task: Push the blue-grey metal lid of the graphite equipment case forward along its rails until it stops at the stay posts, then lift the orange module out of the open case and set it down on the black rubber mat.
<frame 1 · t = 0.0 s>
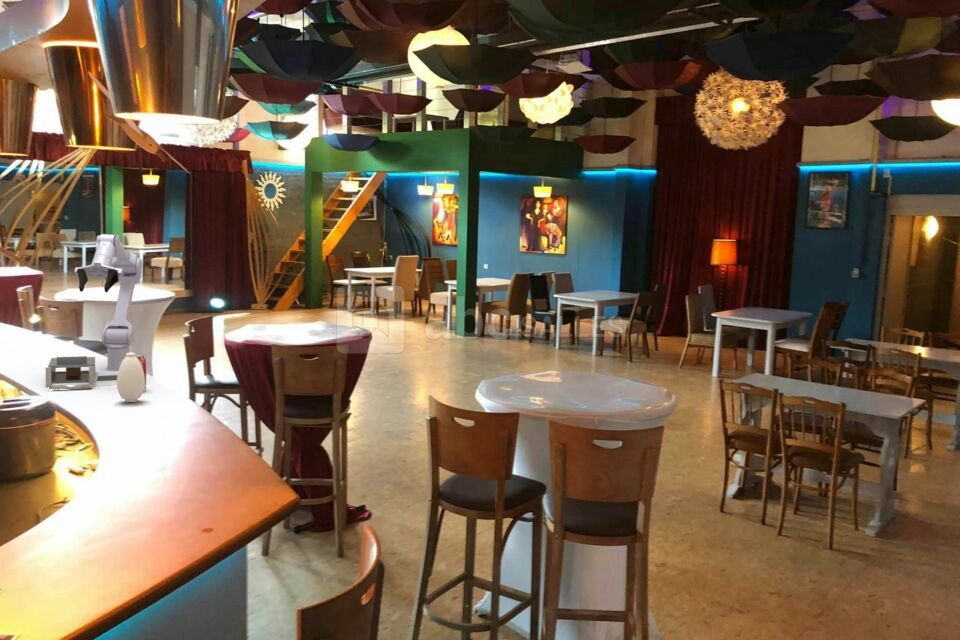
hand: (93, 289, 255), 32 cm above the worktop, tool tilted 50°, fingers open, 7 cm apart
case: (72, 380, 266), on the worktop
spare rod: (69, 389, 252), on the worktop
module: (73, 374, 273), point 1 cm above the worktop, touching case
soda can: (134, 391, 255), on the worktop
mat: (111, 379, 270), on the worktop
lid: (72, 359, 267), point 7 cm above the worktop, slide at 0.0 cm
egg-shaped bottle: (131, 402, 240), on the worktop
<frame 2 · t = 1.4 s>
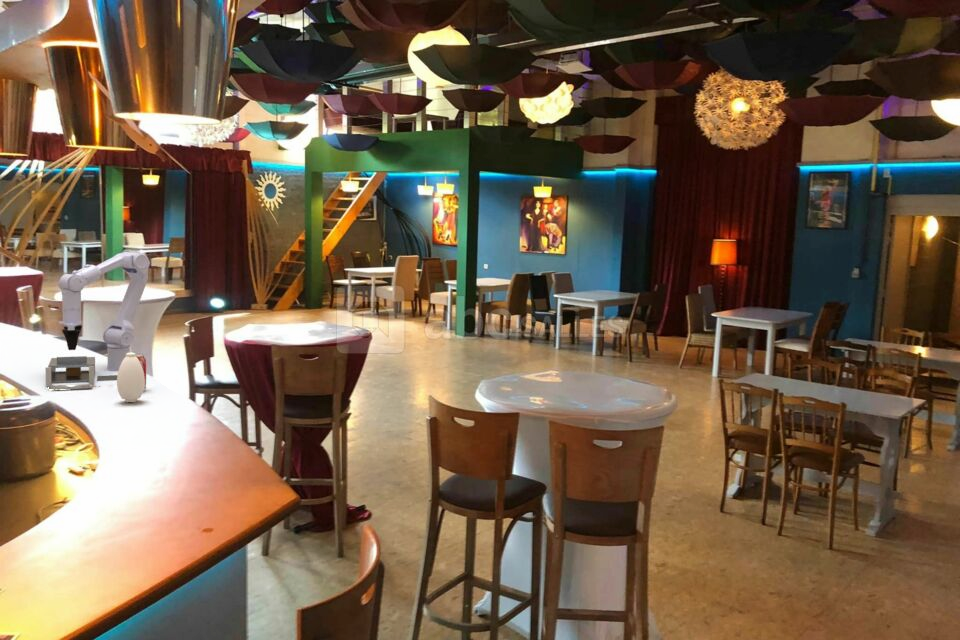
hand: (72, 348, 269), 10 cm above the worktop, tool pointing down, fingers open, 7 cm apart
nothing on the worktop moved.
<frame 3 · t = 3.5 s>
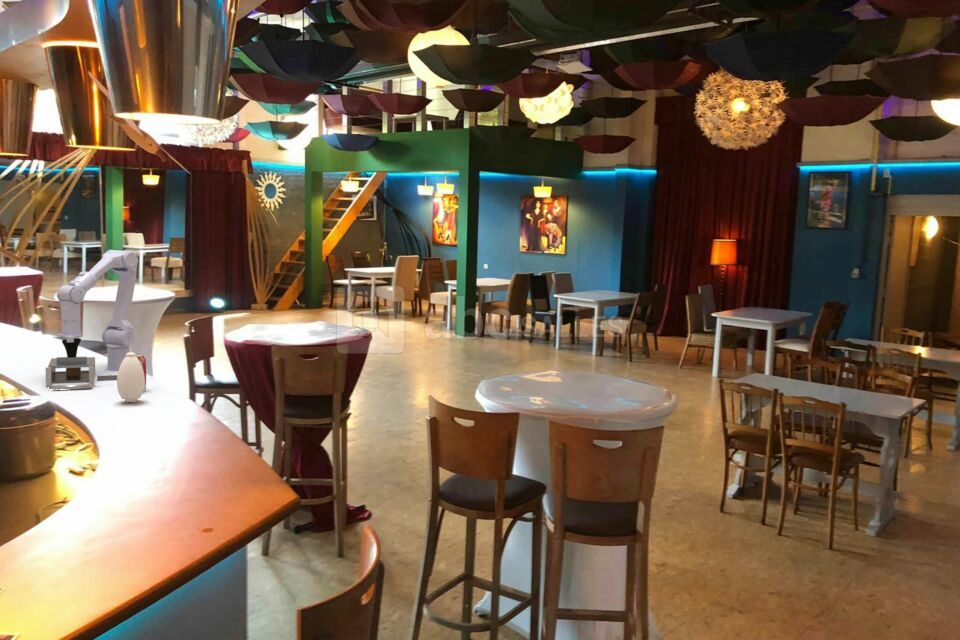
hand: (71, 360, 265), 7 cm above the worktop, tool pointing down, fingers closed
lid: (72, 359, 266), point 7 cm above the worktop, slide at 0.6 cm, touching gripper
everything else where it was.
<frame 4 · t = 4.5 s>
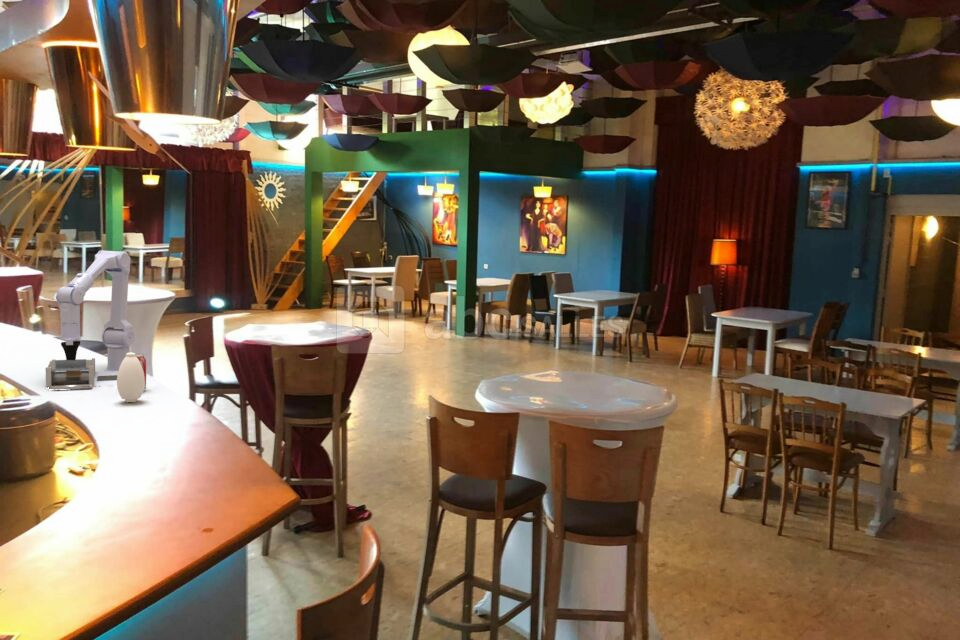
hand: (71, 363, 260), 7 cm above the worktop, tool pointing down, fingers closed
lid: (71, 362, 261), point 7 cm above the worktop, slide at 5.8 cm, touching gripper
everything else where it was.
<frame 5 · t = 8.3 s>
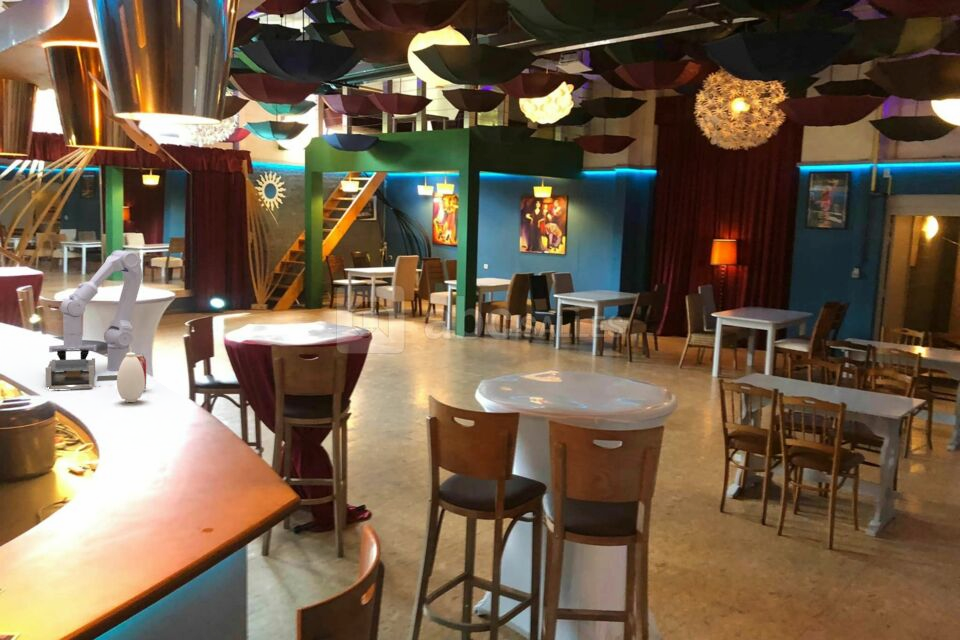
hand: (73, 371, 273), 2 cm above the worktop, tool pointing down, fingers closed on module, 4 cm apart
module: (73, 374, 273), point 1 cm above the worktop, touching case, gripper
lid: (71, 362, 261), point 7 cm above the worktop, slide at 5.8 cm
everything else where it was.
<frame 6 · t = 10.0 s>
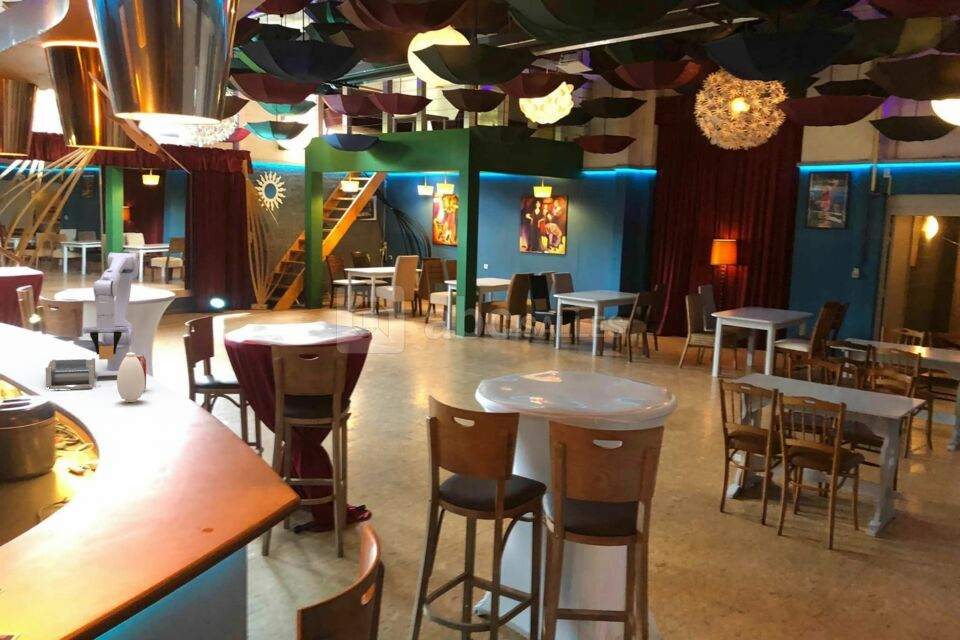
hand: (106, 353, 269), 9 cm above the worktop, tool pointing down, fingers closed on module, 4 cm apart
module: (106, 358, 270), point 7 cm above the worktop, touching gripper
everything else where it was.
when the fingers open (3 cm above the worktop, at t = 11.8 s): module stays where it is, resting on mat.
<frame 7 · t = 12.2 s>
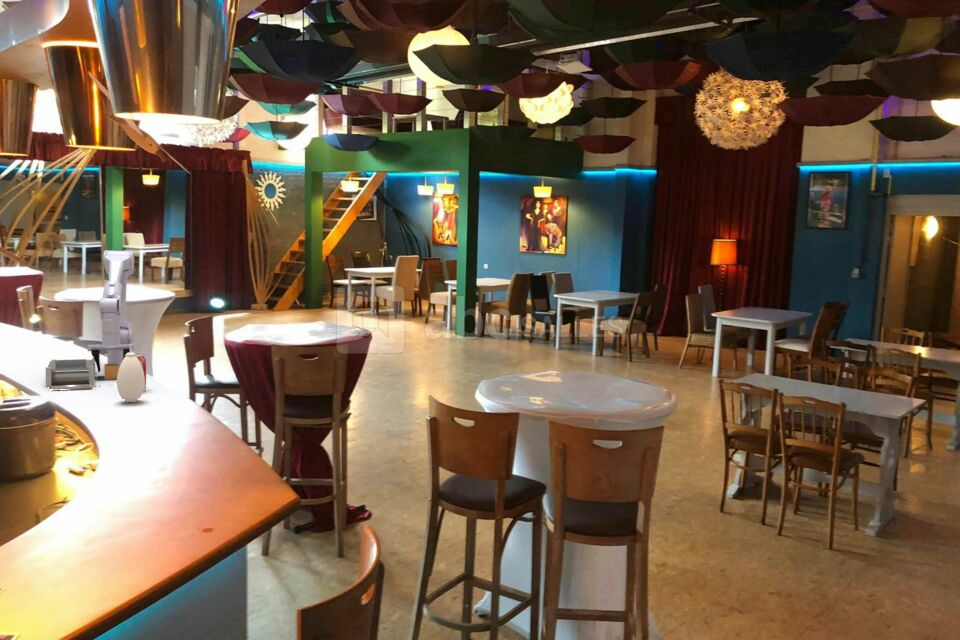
hand: (111, 371, 270), 3 cm above the worktop, tool pointing down, fingers open, 7 cm apart
module: (111, 377, 270), point 1 cm above the worktop, touching mat
everything else where it was.
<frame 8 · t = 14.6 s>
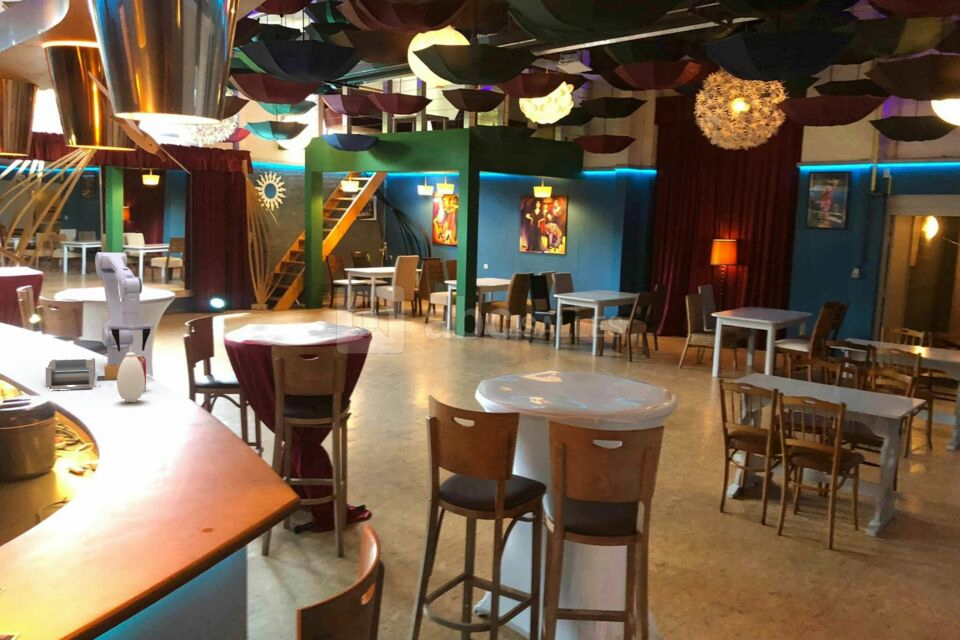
hand: (131, 350, 272), 10 cm above the worktop, tool pointing down, fingers open, 7 cm apart
nothing on the worktop moved.
at the end: lid slide at 5.8 cm; module inside the target area on the mat (0.0 cm from its centre), point 0.6 cm above the mat's base; module tilted 0° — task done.
